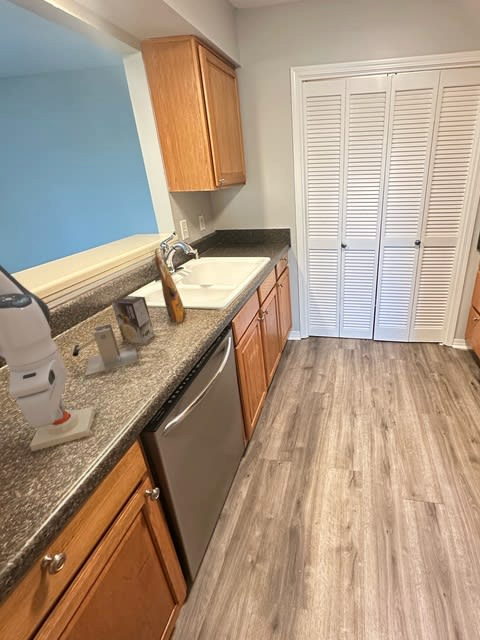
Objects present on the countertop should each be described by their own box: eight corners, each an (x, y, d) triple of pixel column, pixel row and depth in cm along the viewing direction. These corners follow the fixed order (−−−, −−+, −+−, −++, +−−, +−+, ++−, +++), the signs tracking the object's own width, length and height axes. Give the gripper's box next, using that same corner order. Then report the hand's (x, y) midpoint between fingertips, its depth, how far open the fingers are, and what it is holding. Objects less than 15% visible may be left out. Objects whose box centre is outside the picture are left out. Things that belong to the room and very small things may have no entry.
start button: (52, 428, 74) (49, 422, 74) (56, 419, 77) (53, 413, 76) (68, 424, 75) (66, 418, 75) (71, 415, 78) (69, 409, 77)
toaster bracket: (86, 379, 96) (72, 341, 91) (90, 361, 105) (77, 326, 100) (137, 365, 102) (127, 329, 97) (136, 349, 111) (127, 316, 106)
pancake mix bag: (165, 328, 125) (147, 258, 114) (169, 309, 142) (154, 246, 131) (183, 325, 126) (168, 255, 115) (185, 307, 143) (172, 244, 132)
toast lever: (76, 358, 96) (69, 353, 95) (78, 351, 100) (72, 345, 99) (110, 336, 98) (104, 330, 97) (111, 329, 102) (105, 324, 101)
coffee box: (156, 336, 119) (146, 296, 112) (144, 345, 113) (133, 303, 107) (135, 335, 121) (123, 295, 115) (122, 343, 115) (110, 302, 109)
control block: (32, 451, 72) (26, 440, 70) (44, 424, 79) (39, 413, 78) (88, 436, 75) (83, 424, 74) (95, 411, 83) (91, 400, 81)
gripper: (31, 348, 77) (52, 394, 83) (5, 397, 60) (33, 451, 66) (62, 341, 80) (80, 387, 85) (46, 386, 63) (69, 440, 68)
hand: (59, 415), depth 76 cm, fingers closed, pressing on start button
